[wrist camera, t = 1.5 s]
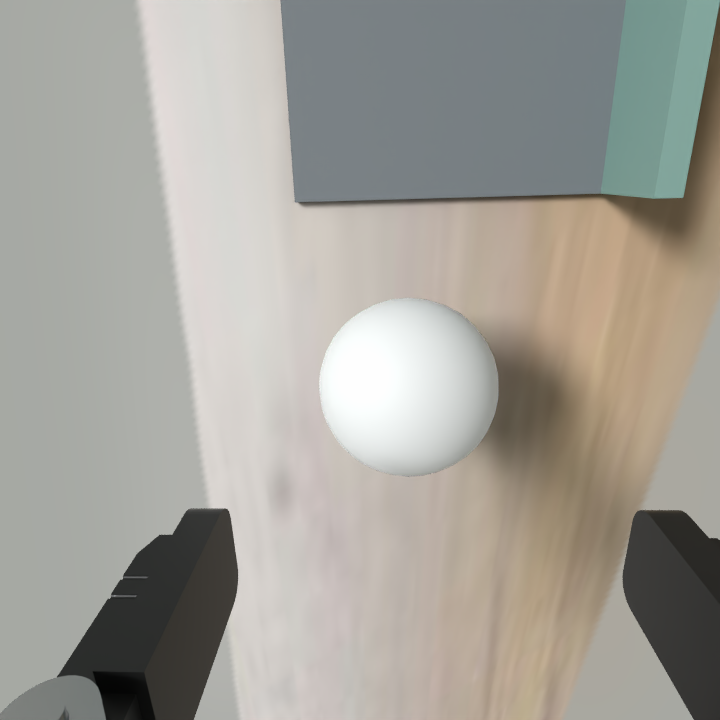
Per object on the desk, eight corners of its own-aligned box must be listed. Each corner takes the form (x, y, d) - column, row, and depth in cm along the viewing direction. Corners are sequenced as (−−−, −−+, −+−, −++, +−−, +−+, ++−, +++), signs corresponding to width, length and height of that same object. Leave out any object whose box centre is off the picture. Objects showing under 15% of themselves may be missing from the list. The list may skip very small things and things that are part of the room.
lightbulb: (414, 400, 26) (434, 547, 16) (315, 337, 25) (269, 451, 15) (487, 306, 24) (565, 404, 14) (384, 234, 23) (385, 283, 13)
